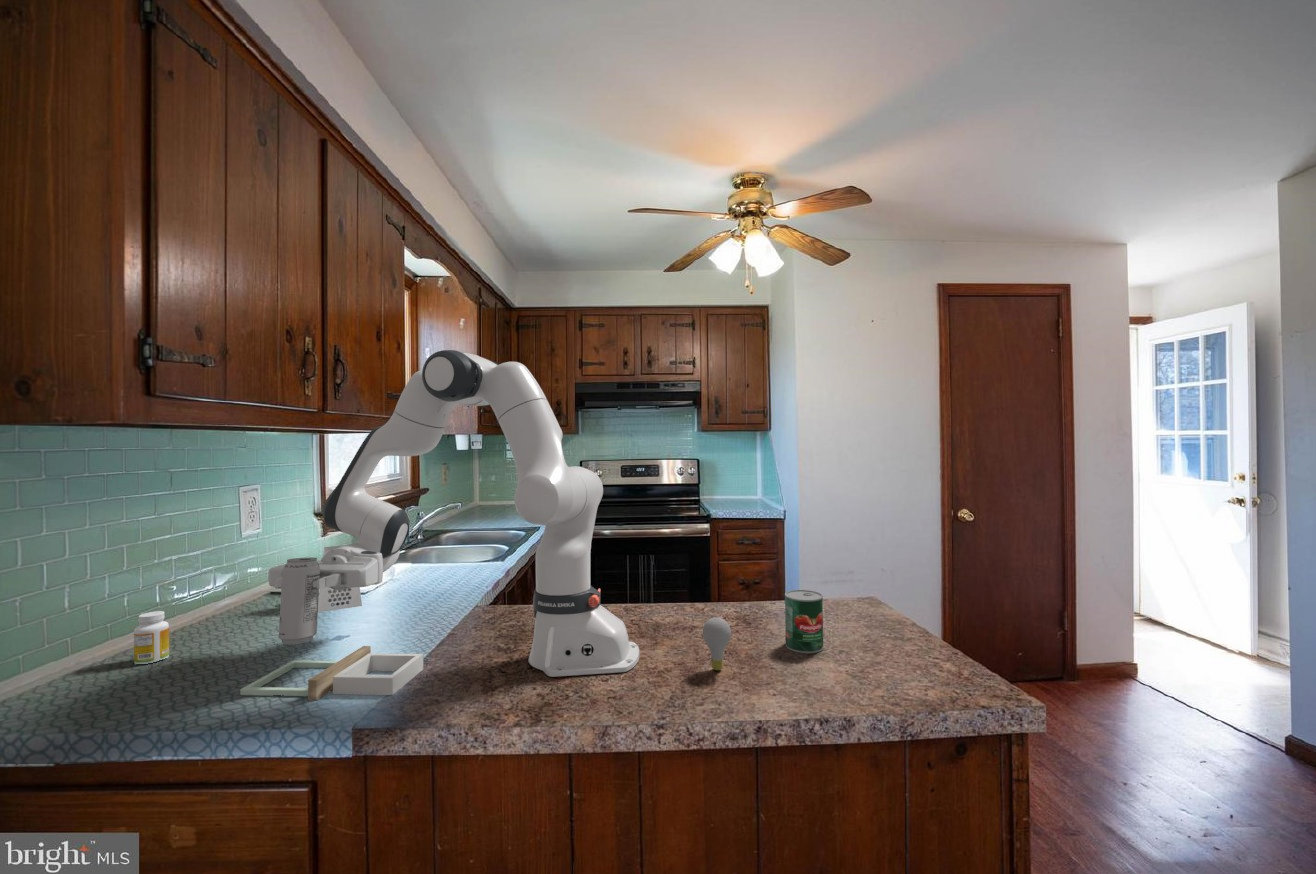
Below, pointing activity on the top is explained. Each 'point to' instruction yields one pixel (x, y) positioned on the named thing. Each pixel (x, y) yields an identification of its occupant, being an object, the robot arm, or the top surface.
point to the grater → (338, 592)
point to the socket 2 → (360, 683)
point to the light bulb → (716, 639)
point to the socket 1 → (270, 691)
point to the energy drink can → (299, 601)
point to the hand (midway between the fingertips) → (296, 584)
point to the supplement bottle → (151, 638)
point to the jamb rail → (333, 674)
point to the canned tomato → (804, 621)
